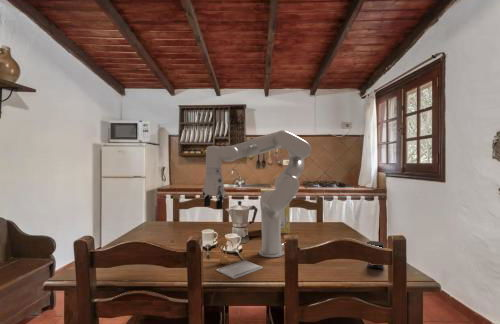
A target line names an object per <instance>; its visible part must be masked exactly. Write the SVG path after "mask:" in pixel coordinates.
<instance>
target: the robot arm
mask: <svg viewBox="0 0 500 324" xmlns="http://www.w3.org/2000/svg"><path fill="white" fill-rule="evenodd" d="M279 149H284V150H286V151H287V155H288V163H287V165H286V166H285V167H284V169H283V170H282V171H281V173H280V174H279V175H278V177H277V178H276V179H275V181H274V189H275V190H274V191H266V192H264V193H263V194H262V196H261V195H260V200H259V203H260V204H259V205H260V217H261V216H262V229H261V249H259V251H258V254H259V256H261V257H263V258H264V257H265V258H280V257H282V256H284V255H285V251H284V250H283V248H285V247H284V243H285V242H284V243H281V242H282V241H281V239H282V237H281V235H282V233H281V224H280V223H281V220H280V212H281V211H283V210H284V209H285V208H286V206H287V205H288V204H289V205H290V203H291V202H292V201H293V199H294V197H295V196H296V195H297V193H298V191H299V190H300V181H299V178H300V177H301V176H302V174H303V172H304V169H305V159H306V158H308V157H310V155H311V153H312V146H311V144H310V143H309V142H308V141H306V139H305V140H304V139H302V138H301V137H300V136H298V135H295V134H294V133H292V132H289V131H287V130H285V129H284V130H282V129H281V130H279V131H276V132H271V133H267V134H264V135H261V136H257V137H253V138H250V139H249V140H246V141H243V142H239V143H236V144H233V145H227V146H219V145H208V146H207V147H206V149H205V176H204V178H205V179H204V187H203V188H202V189H201V190H202V196H203V203H204V205H203V206H204V207H210V206H211V196H212V197H213V196H214V197H215V198H216V202H215V203H216V205H215V207H216V210H221V209H223V200H224V199H225V196H226V190H225V189H224V178H223V174H222V166H223V165H222V164H223V163H222V161H223V162H226V163H227V162H230V163H231V162H235V161H236V160H238V159H242V158H245V157H253V156H259V155H261V154H264V153H268V152H273V151H276V150H279Z"/></svg>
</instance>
